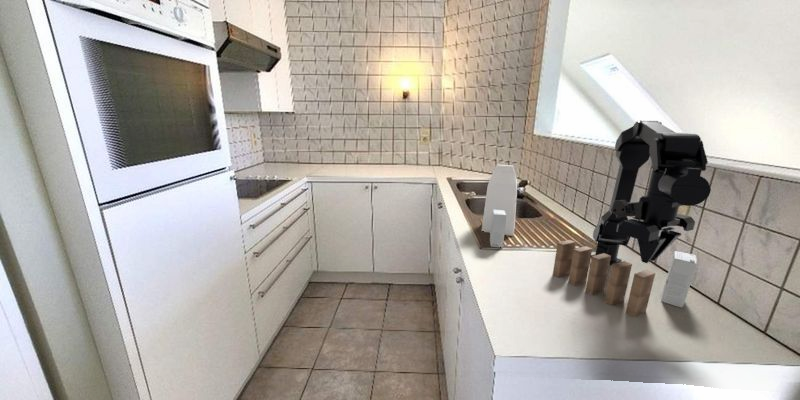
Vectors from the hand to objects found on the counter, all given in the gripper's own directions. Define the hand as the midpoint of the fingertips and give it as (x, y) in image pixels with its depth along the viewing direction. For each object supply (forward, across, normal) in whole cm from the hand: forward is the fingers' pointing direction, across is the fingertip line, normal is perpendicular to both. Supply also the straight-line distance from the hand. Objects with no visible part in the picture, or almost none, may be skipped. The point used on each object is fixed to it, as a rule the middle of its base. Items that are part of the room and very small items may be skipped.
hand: (647, 261), depth 71 cm
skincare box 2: (+13, -14, +1) cm, 19 cm away
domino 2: (+13, 0, -15) cm, 20 cm away
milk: (+13, -10, -57) cm, 59 cm away
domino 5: (+13, 0, 0) cm, 13 cm away
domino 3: (+13, 0, -10) cm, 16 cm away
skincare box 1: (+13, +2, -45) cm, 47 cm away
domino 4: (+13, 0, -5) cm, 14 cm away
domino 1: (+13, 0, -20) cm, 24 cm away
